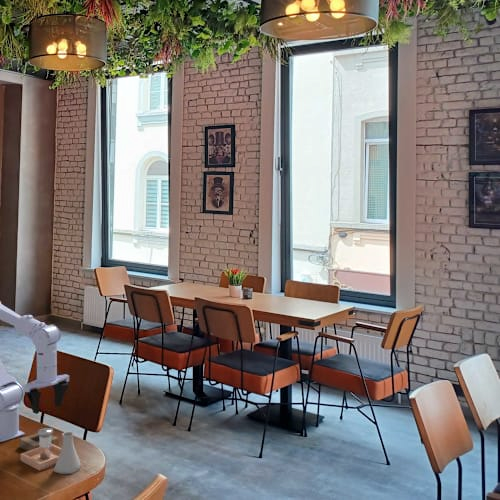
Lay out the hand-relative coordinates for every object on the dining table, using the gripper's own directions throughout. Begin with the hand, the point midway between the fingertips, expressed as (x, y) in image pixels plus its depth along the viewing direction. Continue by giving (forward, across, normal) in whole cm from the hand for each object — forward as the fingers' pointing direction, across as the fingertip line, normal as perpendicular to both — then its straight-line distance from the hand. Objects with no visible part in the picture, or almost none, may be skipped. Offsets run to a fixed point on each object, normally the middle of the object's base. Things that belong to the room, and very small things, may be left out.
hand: (47, 409), depth 173 cm
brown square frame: (+10, -3, -1) cm, 11 cm away
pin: (+10, -7, -10) cm, 16 cm away
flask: (+11, -6, -19) cm, 23 cm away
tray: (+10, -7, -10) cm, 16 cm away
